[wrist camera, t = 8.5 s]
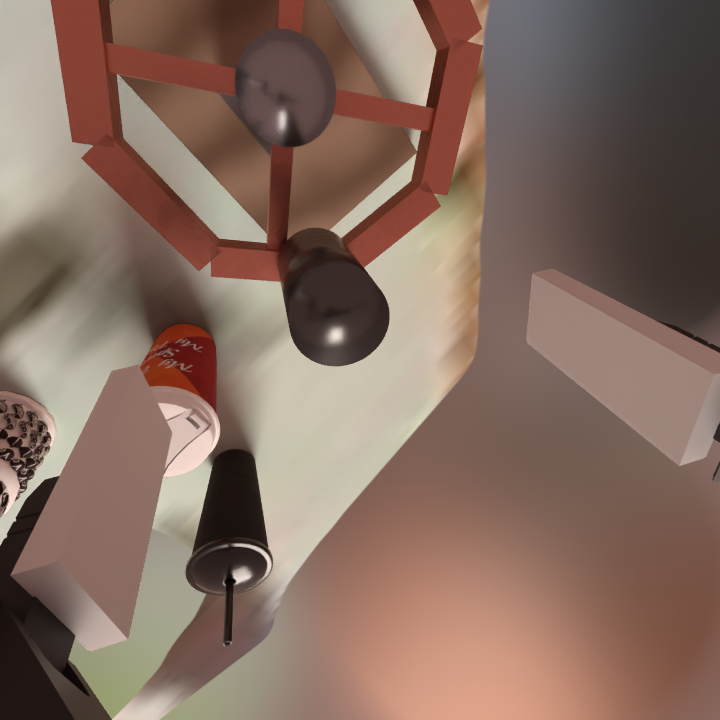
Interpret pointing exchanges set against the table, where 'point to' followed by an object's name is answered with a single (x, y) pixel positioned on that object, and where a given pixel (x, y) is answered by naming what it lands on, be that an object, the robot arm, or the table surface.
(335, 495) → the table surface
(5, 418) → the decorative candle
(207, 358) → the paper cup
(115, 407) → the robot arm
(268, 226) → the handwheel
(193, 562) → the drinking cup
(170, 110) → the brown block
